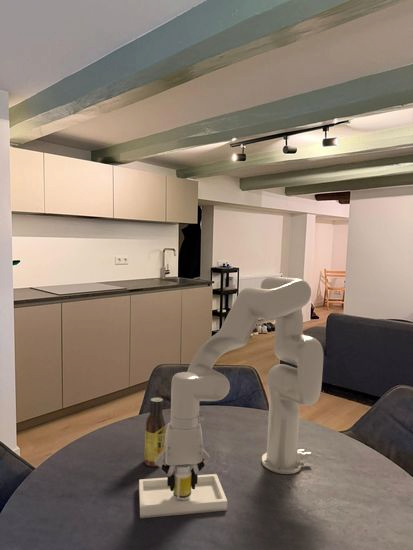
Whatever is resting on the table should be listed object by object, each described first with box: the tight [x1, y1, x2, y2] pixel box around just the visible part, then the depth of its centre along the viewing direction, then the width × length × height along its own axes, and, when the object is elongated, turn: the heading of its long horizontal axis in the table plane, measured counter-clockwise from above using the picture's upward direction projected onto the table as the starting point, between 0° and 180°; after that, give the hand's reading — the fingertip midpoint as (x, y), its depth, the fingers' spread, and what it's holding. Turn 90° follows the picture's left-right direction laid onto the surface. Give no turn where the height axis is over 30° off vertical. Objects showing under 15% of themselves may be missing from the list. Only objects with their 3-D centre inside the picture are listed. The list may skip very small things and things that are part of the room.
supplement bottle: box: [173, 464, 192, 500], centre depth 102 cm, size 5×5×8 cm
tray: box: [138, 473, 228, 519], centre depth 102 cm, size 22×12×2 cm, turn 101°
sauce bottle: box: [143, 397, 167, 468], centre depth 120 cm, size 7×6×20 cm
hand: (182, 486), depth 102 cm, fingers open, 5 cm apart
